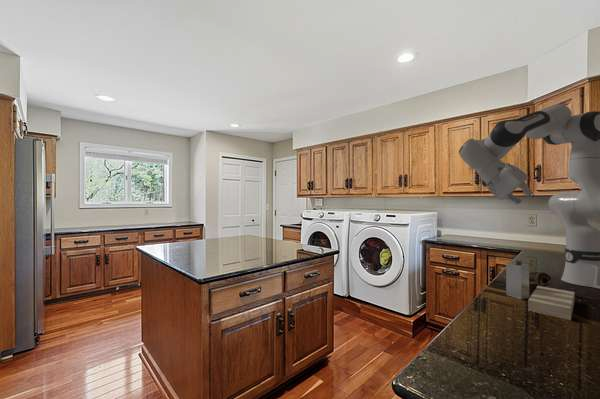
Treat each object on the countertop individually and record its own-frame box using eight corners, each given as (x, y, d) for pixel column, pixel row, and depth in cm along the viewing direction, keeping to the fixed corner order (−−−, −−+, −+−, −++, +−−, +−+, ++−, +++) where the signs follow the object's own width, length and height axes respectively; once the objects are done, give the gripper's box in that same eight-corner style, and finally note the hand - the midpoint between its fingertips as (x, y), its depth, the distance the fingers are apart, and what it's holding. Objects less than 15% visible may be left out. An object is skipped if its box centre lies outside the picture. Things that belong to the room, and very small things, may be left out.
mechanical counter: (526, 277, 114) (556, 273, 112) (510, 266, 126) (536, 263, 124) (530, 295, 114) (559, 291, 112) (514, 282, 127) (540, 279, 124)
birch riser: (537, 295, 109) (537, 285, 109) (574, 302, 101) (574, 291, 101) (528, 311, 93) (528, 300, 93) (570, 320, 86) (570, 308, 86)
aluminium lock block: (514, 293, 111) (514, 259, 111) (529, 297, 106) (529, 261, 106) (506, 295, 108) (506, 260, 108) (521, 299, 104) (521, 263, 104)
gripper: (512, 155, 103) (546, 183, 97) (493, 177, 121) (520, 202, 116) (497, 166, 103) (530, 194, 97) (480, 186, 122) (507, 211, 116)
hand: (524, 199), depth 107 cm, fingers open, 8 cm apart
